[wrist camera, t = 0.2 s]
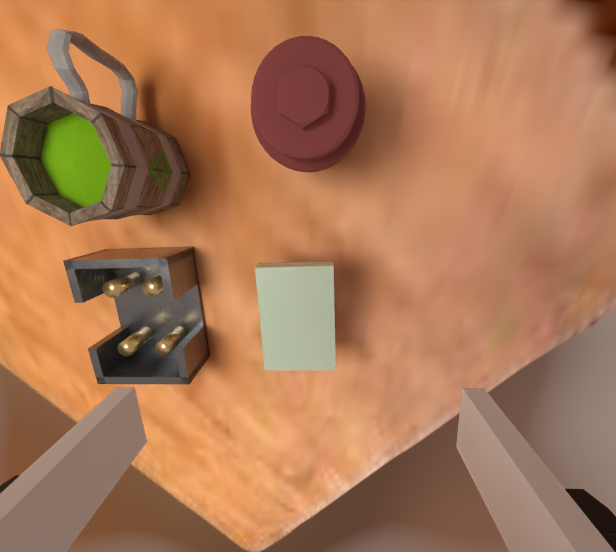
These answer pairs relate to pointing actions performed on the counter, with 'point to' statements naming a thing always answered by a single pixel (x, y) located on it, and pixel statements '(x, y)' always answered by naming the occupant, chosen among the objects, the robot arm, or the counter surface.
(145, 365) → the frame
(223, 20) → the counter surface
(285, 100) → the mechanical component
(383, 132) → the counter surface
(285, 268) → the board
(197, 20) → the counter surface
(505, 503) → the robot arm
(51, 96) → the mug
